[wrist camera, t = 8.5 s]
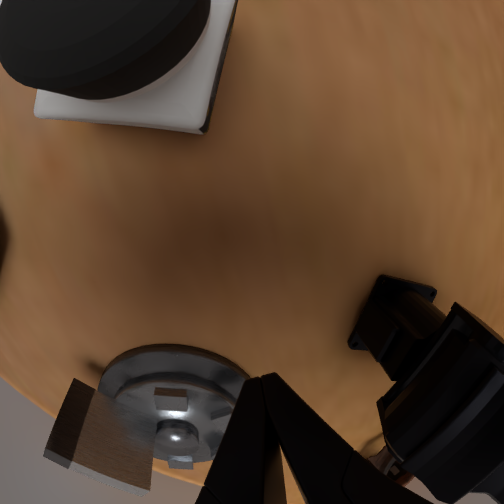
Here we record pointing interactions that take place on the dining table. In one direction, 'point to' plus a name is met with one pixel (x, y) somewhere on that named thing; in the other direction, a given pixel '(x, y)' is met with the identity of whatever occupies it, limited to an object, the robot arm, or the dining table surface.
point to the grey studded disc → (139, 428)
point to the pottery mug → (391, 467)
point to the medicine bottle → (119, 59)
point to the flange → (172, 367)
